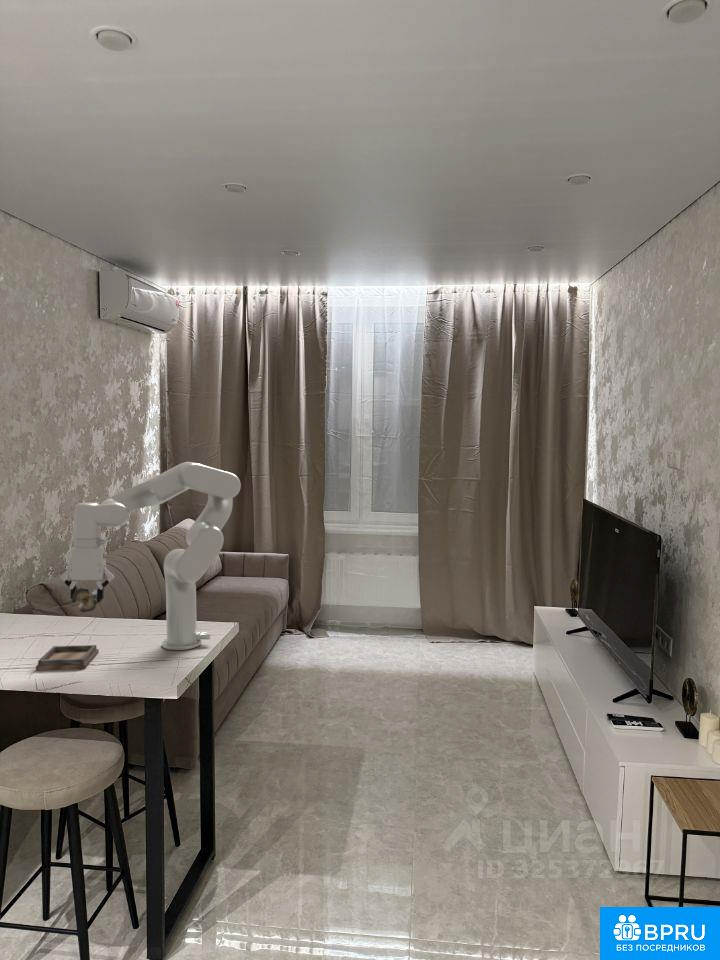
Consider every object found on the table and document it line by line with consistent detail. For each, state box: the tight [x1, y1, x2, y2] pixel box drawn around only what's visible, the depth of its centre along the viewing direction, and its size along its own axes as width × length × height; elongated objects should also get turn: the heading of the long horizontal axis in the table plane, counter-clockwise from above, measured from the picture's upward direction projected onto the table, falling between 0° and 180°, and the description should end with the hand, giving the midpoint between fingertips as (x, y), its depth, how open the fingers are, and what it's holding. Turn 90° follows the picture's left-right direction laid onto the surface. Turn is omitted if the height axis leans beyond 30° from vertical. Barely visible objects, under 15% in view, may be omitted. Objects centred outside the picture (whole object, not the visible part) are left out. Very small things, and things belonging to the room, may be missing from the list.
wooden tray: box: [35, 644, 100, 671], centre depth 218 cm, size 14×15×3 cm
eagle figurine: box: [72, 588, 98, 613], centre depth 216 cm, size 8×7×9 cm
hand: (87, 601), depth 218 cm, fingers closed on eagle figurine, 6 cm apart
